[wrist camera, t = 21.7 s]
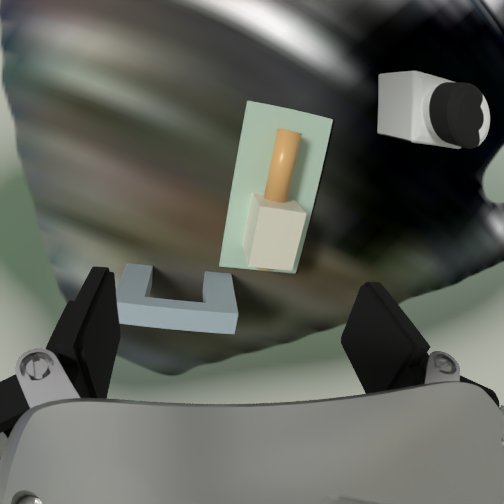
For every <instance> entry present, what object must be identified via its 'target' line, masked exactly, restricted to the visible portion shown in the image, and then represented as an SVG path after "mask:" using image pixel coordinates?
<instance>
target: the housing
mask: <svg viewBox="0 0 504 504" xmlns="http://www.w3.org/2000/svg"><path fill="white" fill-rule="evenodd" d="M152 272H153V266H150V265H141V264H132V263H127V265H126V267H125V270H124V272H123V274H122V277H121V279H120V282H119V284H118V286H117V289H116V299H117V308H118V316H119V323H121V324H129V325H137V326H146V327H155V328H164V329H175V330H186V331H198V332H211V333H226V334H234V333H235V328H236V323H237V318H238V309H237V304H236V298H235V293H234V287H233V282H232V276H231V274H230V273H219V272H209V271H205V275H204V283H203V303H202V302H191V301H180V300H170V299H160V298H151V297H149V295H150V291H151V287H152Z"/></svg>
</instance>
